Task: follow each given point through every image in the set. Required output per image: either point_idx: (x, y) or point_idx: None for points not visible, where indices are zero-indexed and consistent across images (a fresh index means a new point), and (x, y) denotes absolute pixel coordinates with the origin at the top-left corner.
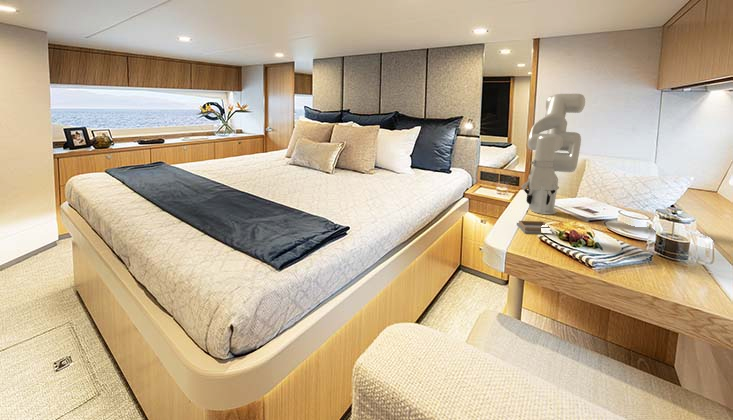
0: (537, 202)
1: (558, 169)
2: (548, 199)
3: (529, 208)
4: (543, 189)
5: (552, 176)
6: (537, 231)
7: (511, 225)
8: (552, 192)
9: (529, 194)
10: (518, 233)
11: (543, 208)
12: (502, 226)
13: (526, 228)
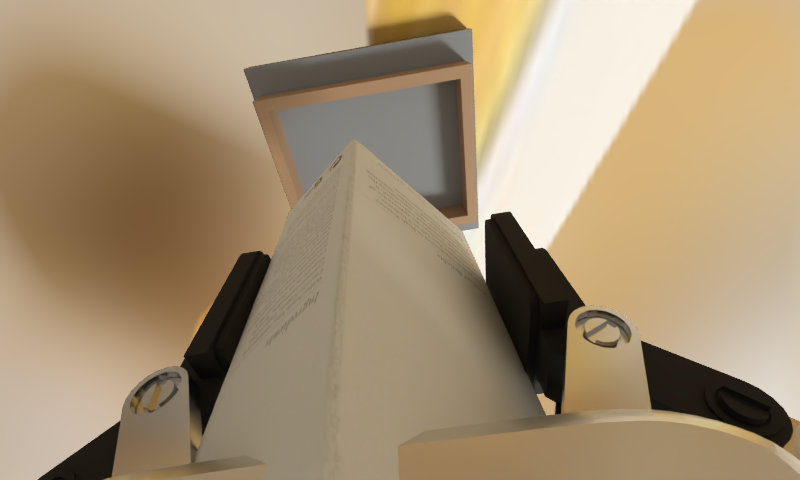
0: (403, 223)
1: None
2: (219, 303)
3: (459, 229)
4: (295, 475)
5: None
6: (367, 54)
7: (512, 198)
8: (95, 462)
9: (601, 322)
10: (518, 14)
11: (310, 196)
12: (583, 161)
13: (457, 64)
